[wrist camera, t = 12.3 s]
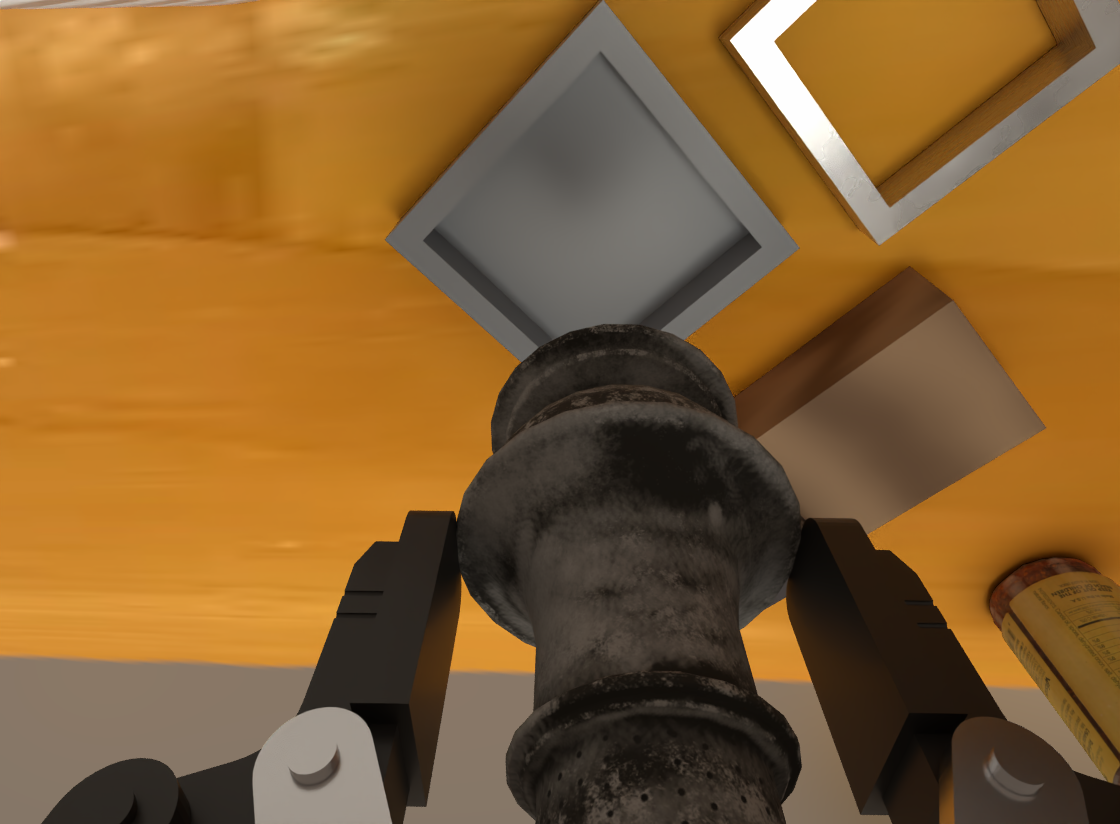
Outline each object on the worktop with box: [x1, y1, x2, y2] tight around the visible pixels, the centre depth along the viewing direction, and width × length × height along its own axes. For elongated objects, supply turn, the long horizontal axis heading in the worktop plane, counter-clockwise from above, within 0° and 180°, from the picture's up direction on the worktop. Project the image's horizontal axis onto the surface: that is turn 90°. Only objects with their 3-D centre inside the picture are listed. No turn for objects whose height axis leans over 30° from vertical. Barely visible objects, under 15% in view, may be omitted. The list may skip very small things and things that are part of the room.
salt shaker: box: [456, 324, 802, 824], centre depth 9 cm, size 6×6×12 cm
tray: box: [385, 0, 799, 362], centre depth 26 cm, size 11×11×2 cm
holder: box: [718, 0, 1120, 245], centre depth 23 cm, size 10×10×2 cm
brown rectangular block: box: [734, 266, 1046, 534], centre depth 30 cm, size 10×8×4 cm
